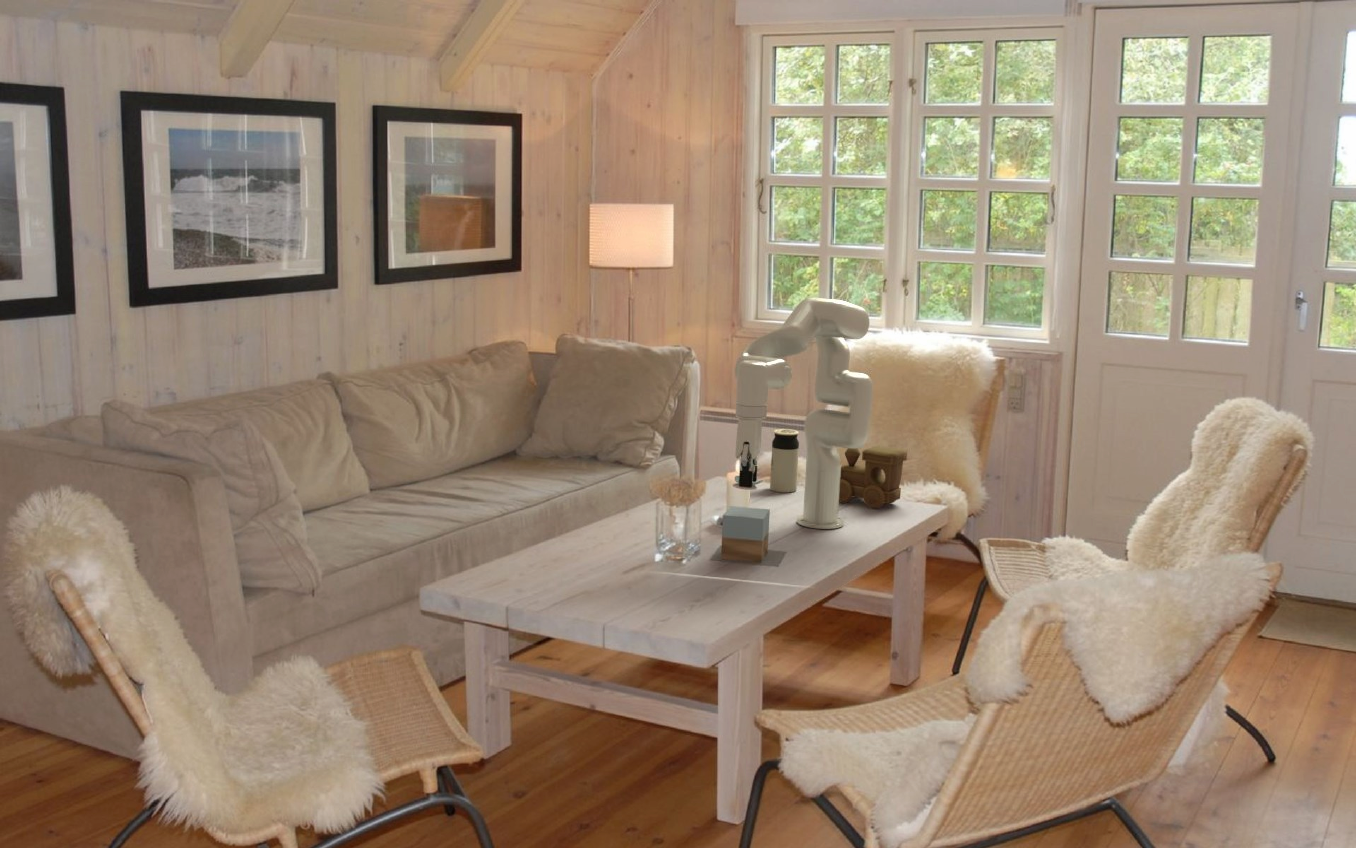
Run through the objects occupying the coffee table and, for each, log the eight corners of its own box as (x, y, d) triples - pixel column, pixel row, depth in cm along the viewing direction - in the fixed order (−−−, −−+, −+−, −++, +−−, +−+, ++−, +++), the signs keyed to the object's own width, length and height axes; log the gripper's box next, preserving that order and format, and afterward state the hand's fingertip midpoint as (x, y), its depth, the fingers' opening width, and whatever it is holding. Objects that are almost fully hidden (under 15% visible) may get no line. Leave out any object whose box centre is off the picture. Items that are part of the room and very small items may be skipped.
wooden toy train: (905, 505, 408) (909, 449, 405) (887, 512, 399) (891, 455, 396) (844, 494, 419) (847, 440, 416) (826, 501, 410) (829, 445, 407)
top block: (729, 527, 353) (730, 506, 352) (768, 530, 351) (769, 509, 350) (721, 537, 343) (722, 515, 342) (762, 540, 341) (763, 518, 340)
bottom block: (728, 548, 354) (729, 527, 353) (767, 552, 352) (768, 530, 351) (721, 558, 344) (721, 537, 343) (761, 562, 342) (762, 540, 341)
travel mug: (799, 488, 425) (802, 430, 421) (792, 494, 417) (795, 434, 414) (774, 485, 427) (777, 427, 424) (766, 491, 420) (769, 432, 417)
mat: (720, 547, 356) (720, 545, 356) (786, 553, 353) (786, 551, 353) (709, 562, 343) (709, 560, 343) (778, 568, 339) (778, 566, 339)
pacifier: (752, 493, 340) (765, 488, 345) (753, 467, 338) (766, 463, 343) (727, 488, 344) (739, 483, 349) (727, 463, 342) (740, 459, 347)
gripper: (742, 404, 350) (738, 475, 354) (729, 416, 334) (726, 490, 337) (771, 407, 349) (768, 478, 352) (760, 418, 332) (757, 492, 336)
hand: (747, 483), depth 345 cm, fingers closed on pacifier, 5 cm apart
